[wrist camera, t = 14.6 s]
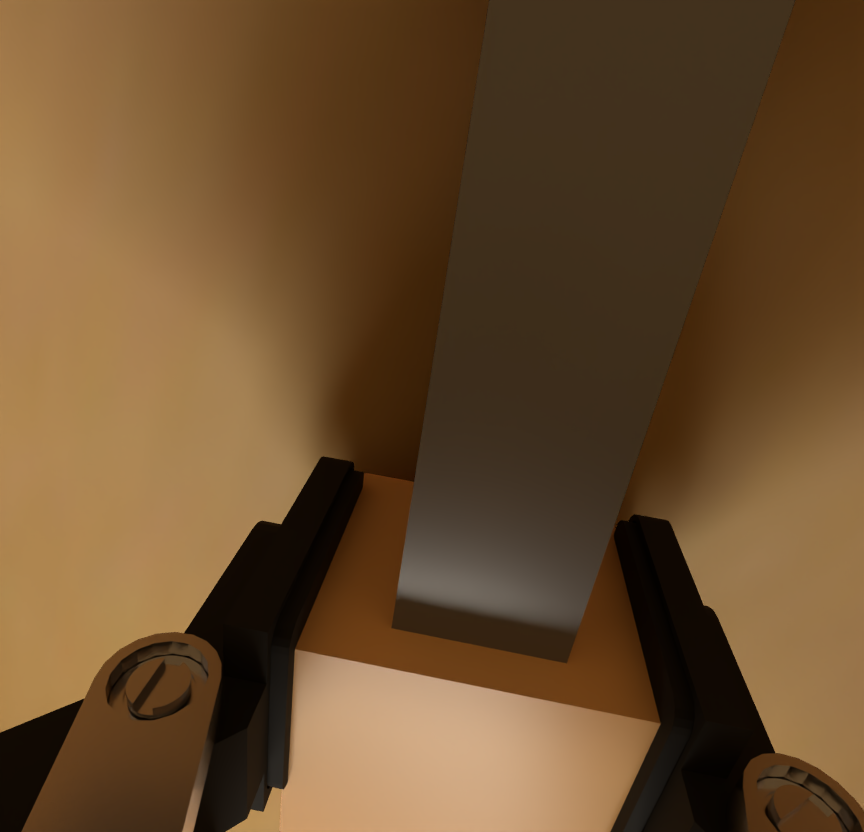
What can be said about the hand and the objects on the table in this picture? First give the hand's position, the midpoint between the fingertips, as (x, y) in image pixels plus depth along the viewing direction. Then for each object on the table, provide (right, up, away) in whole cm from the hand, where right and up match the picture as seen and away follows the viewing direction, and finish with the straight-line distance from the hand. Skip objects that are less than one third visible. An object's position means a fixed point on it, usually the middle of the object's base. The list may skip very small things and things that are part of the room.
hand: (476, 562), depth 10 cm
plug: (+1, +4, -1) cm, 4 cm away
